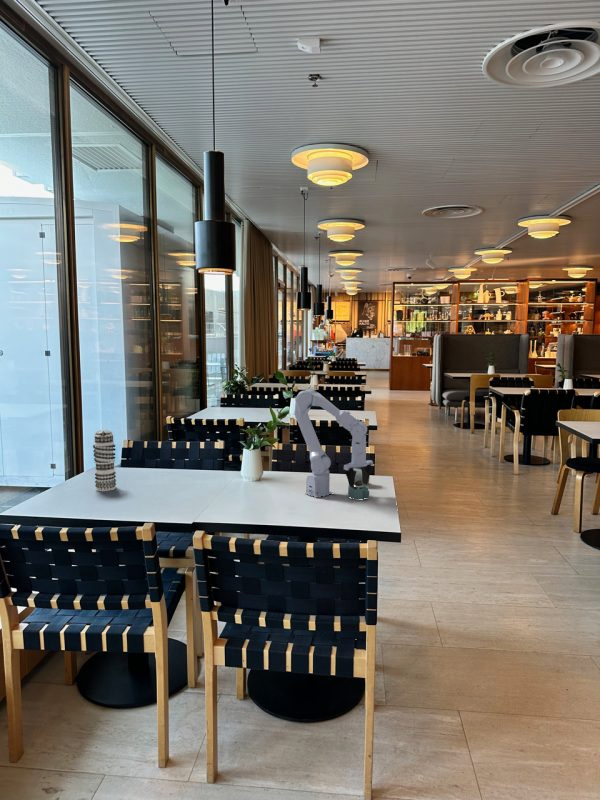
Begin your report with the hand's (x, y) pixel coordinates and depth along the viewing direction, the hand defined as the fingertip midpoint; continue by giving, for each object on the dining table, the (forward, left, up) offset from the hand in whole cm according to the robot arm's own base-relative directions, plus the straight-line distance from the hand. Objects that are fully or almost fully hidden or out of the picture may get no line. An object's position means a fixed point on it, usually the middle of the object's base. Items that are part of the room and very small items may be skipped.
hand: (358, 485), depth 226 cm
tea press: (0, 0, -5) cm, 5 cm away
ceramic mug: (+14, +14, -5) cm, 21 cm away
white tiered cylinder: (-77, +76, -5) cm, 108 cm away
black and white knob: (0, 0, -4) cm, 4 cm away
